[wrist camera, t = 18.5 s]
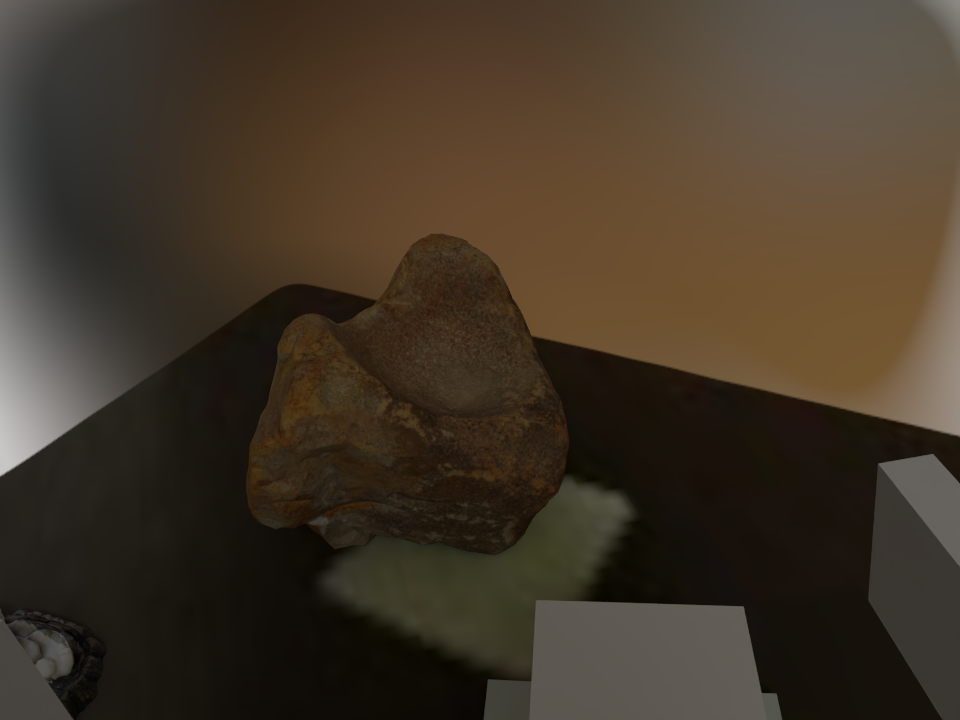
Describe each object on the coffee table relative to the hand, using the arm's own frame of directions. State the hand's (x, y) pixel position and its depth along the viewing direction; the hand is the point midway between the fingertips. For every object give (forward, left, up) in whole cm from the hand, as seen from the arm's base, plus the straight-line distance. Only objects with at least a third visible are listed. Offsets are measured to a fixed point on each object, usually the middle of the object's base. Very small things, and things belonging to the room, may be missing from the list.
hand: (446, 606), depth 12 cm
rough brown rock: (+30, +7, -27) cm, 41 cm away
